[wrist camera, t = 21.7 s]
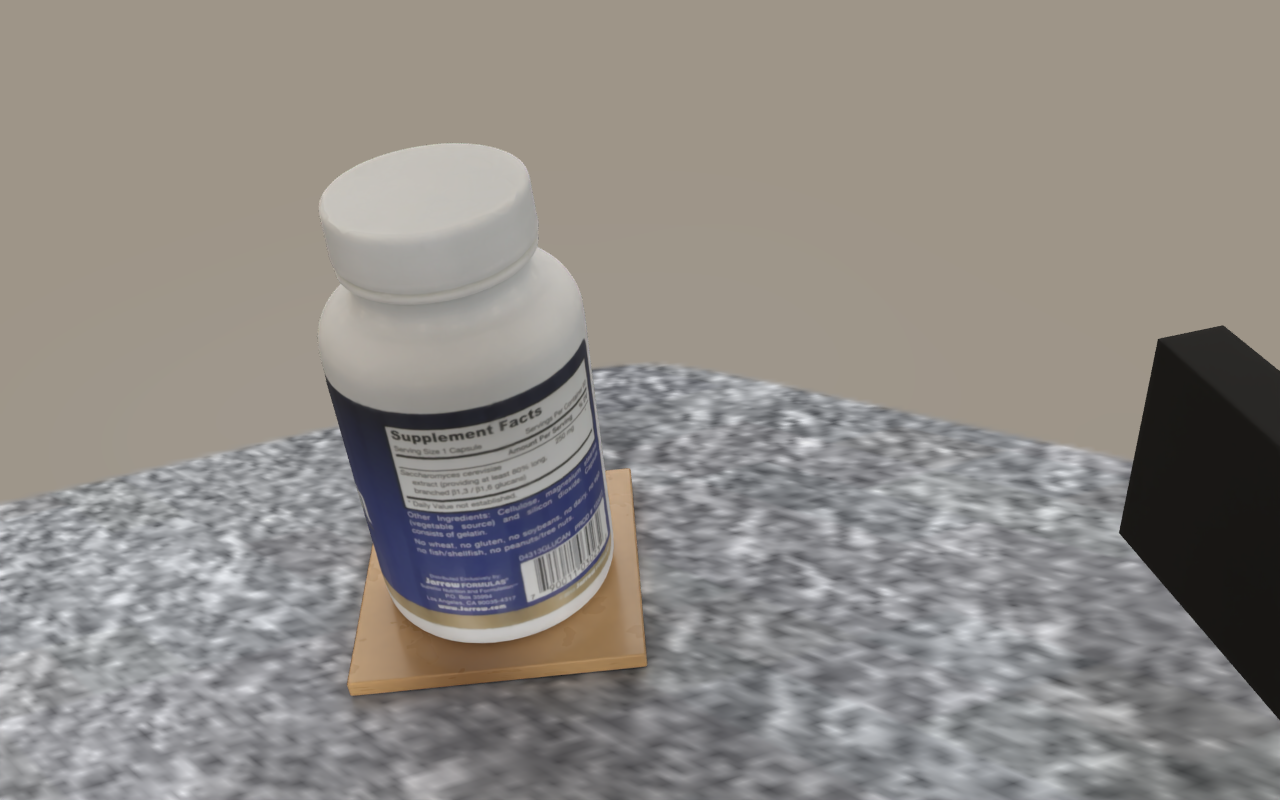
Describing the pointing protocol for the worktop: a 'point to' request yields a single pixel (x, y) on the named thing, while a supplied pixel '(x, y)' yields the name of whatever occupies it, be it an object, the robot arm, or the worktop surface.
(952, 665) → the worktop surface
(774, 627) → the worktop surface
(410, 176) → the pill bottle
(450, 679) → the coaster
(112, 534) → the worktop surface
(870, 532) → the worktop surface
